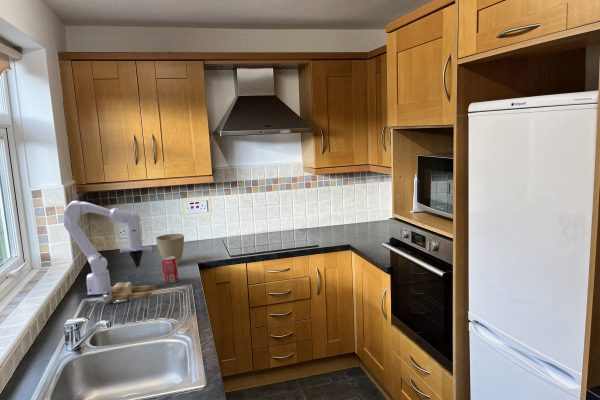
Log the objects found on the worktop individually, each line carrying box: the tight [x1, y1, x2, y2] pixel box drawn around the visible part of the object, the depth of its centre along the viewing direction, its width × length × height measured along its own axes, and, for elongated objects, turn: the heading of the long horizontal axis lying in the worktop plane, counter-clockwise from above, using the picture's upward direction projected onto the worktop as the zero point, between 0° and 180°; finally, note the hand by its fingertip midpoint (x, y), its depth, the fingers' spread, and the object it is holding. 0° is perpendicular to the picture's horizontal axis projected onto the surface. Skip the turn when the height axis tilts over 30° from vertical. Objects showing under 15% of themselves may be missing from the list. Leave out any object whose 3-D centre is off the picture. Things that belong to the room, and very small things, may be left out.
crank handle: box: [113, 295, 131, 305], centre depth 197 cm, size 7×1×2 cm, turn 115°
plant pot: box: [155, 233, 185, 266], centre depth 249 cm, size 15×15×16 cm
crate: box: [112, 281, 133, 294], centre depth 205 cm, size 6×6×5 cm
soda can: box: [161, 256, 179, 284], centre depth 221 cm, size 7×7×12 cm
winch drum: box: [102, 291, 114, 305], centre depth 197 cm, size 4×4×5 cm
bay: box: [109, 284, 157, 301], centre depth 206 cm, size 18×10×3 cm, turn 95°
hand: (137, 266), depth 215 cm, fingers closed
